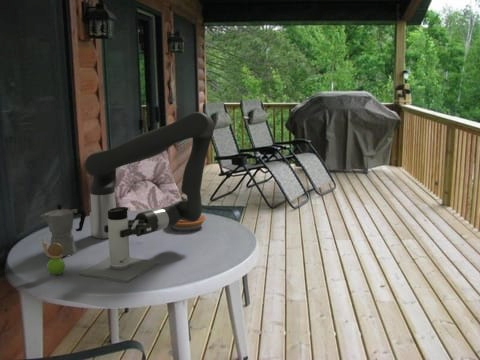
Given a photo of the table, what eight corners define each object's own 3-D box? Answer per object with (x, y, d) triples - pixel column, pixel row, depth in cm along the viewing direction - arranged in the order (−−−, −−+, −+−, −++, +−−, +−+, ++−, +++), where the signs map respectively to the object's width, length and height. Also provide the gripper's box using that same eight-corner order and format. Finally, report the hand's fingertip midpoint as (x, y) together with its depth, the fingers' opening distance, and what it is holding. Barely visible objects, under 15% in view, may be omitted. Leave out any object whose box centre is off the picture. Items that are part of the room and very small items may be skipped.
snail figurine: (47, 271, 176) (43, 235, 173) (67, 270, 176) (64, 235, 174) (42, 277, 170) (39, 241, 168) (63, 276, 171) (60, 240, 169)
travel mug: (126, 271, 174) (123, 210, 169) (107, 269, 175) (103, 209, 171) (133, 264, 180) (131, 205, 175) (115, 262, 181) (112, 204, 177)
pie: (162, 231, 217) (161, 219, 216) (175, 221, 232) (174, 209, 231) (199, 233, 214) (198, 221, 213) (209, 222, 229) (209, 211, 228)
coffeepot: (45, 260, 186) (40, 209, 182) (42, 252, 194) (38, 203, 191) (91, 253, 192) (87, 204, 189) (86, 245, 201) (83, 198, 197)
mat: (79, 274, 172) (79, 273, 172) (112, 256, 189) (112, 255, 189) (128, 282, 166) (128, 280, 166) (157, 262, 182) (157, 261, 182)
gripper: (138, 207, 189) (98, 216, 177) (165, 213, 180) (125, 224, 168) (139, 227, 190) (100, 238, 179) (166, 235, 181) (126, 247, 169)
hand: (112, 231), depth 173 cm, fingers open, 8 cm apart
